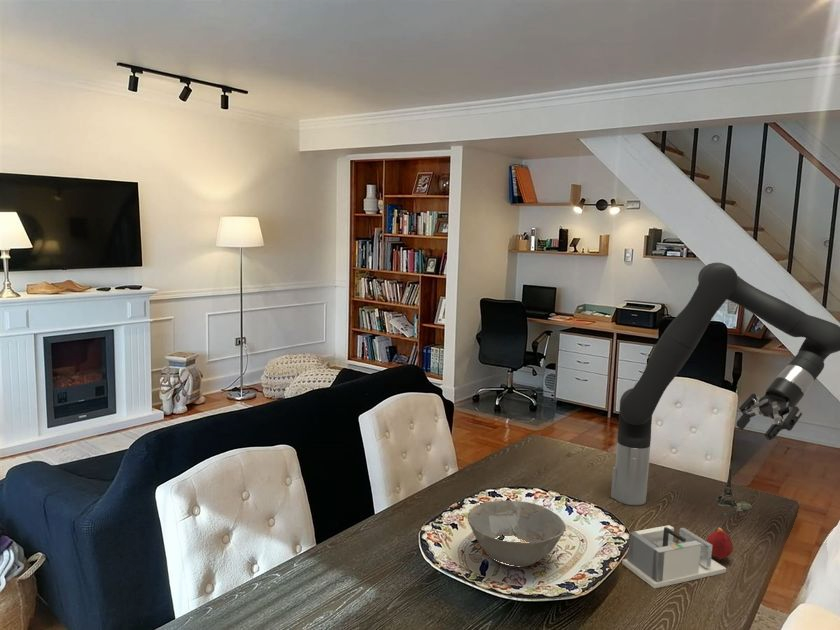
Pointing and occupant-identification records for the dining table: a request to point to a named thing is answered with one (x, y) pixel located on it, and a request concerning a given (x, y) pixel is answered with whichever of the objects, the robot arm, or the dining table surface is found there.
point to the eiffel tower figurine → (731, 498)
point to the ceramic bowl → (516, 530)
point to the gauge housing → (666, 559)
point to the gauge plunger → (687, 537)
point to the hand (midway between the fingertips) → (752, 432)
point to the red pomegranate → (720, 544)
